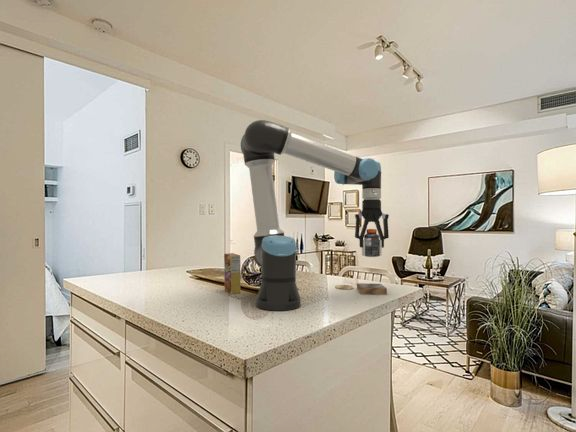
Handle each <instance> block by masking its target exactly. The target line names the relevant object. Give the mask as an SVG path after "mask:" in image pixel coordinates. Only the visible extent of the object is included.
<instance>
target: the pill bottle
mask: <svg viewBox="0 0 576 432" xmlns="http://www.w3.org/2000/svg"><path fill="white" fill-rule="evenodd" d="M377 233H378V231H377V228H366V233H365V235H364V238H363V240H365V256H364V257H366V258H367V257H368V258H379V257H380V256H379V240H380V237H379V234H377Z"/></svg>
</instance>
